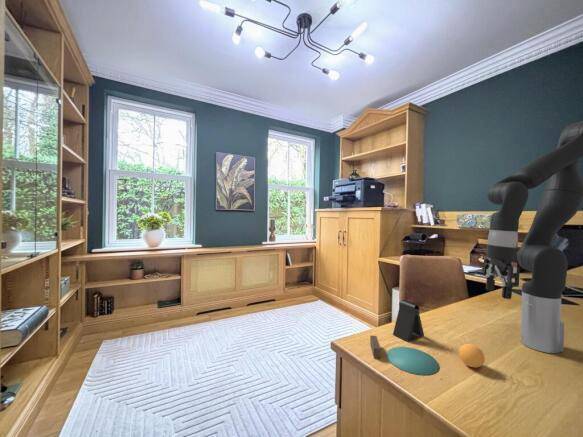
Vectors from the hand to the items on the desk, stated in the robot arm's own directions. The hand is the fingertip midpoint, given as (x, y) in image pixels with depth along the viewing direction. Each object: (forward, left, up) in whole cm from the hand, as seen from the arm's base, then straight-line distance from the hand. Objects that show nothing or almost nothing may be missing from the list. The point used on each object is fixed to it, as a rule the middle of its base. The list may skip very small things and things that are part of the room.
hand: (497, 294), depth 82 cm
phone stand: (+26, -3, -18) cm, 32 cm away
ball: (+13, +13, -15) cm, 23 cm away
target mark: (+29, +13, -18) cm, 36 cm away
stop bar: (+39, +10, -18) cm, 44 cm away
